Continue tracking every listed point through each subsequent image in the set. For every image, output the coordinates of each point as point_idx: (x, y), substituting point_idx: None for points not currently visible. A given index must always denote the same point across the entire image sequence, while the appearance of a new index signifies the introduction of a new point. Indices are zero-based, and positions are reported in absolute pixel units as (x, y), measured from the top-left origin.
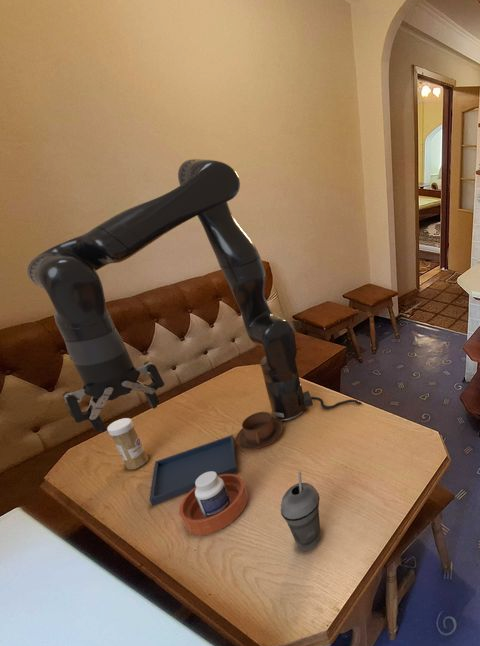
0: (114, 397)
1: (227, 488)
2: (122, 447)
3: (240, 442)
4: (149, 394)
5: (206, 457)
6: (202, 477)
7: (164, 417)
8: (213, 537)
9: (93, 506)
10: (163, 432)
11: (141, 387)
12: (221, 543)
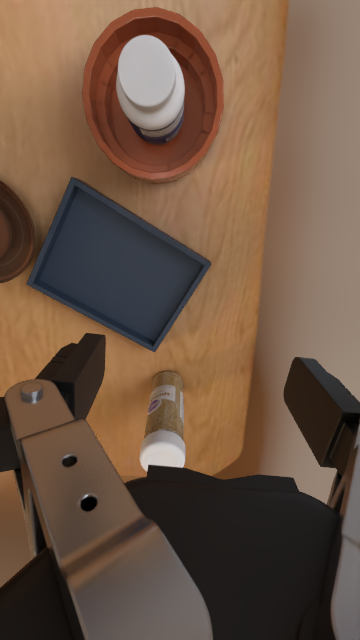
0: (270, 490)
1: (116, 139)
2: (179, 411)
3: (27, 251)
4: (62, 394)
5: (94, 282)
6: (149, 89)
7: None
8: None
9: (249, 350)
10: (106, 419)
11: (51, 449)
12: (204, 10)
